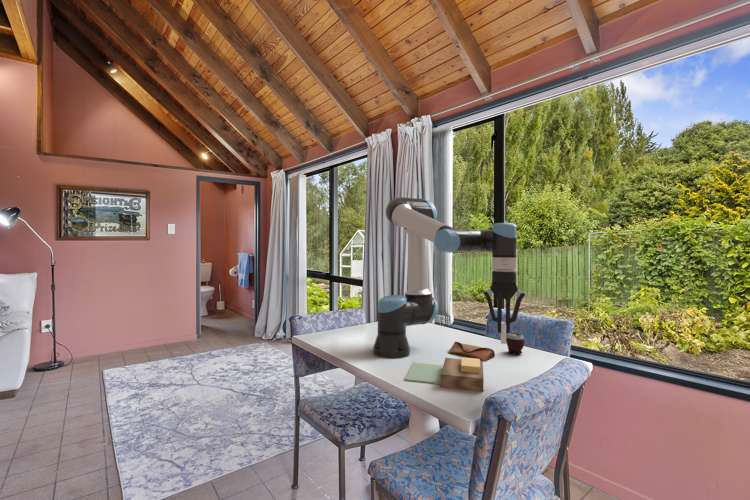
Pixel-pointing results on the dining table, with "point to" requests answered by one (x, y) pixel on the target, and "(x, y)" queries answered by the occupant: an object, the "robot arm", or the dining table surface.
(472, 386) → the brown piece
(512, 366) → the dining table surface
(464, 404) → the dining table surface
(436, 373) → the mat
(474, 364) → the yellow rectangular block
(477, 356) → the sunglasses case
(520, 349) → the mate gourd
